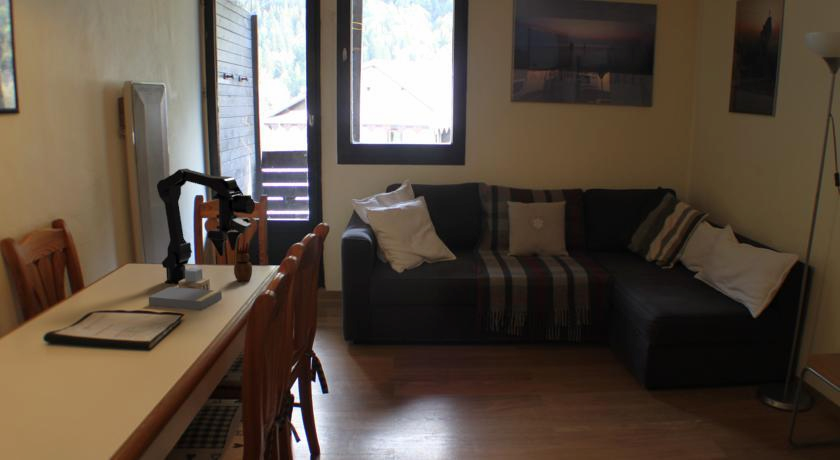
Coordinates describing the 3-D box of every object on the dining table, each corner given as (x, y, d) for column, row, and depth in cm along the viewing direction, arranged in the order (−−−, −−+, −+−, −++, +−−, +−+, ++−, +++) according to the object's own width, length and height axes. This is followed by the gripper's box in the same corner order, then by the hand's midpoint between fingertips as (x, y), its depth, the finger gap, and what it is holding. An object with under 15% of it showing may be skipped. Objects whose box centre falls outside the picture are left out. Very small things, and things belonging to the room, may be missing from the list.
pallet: (179, 291, 249) (178, 281, 249) (187, 287, 255) (187, 277, 254) (201, 293, 248) (200, 283, 247) (209, 289, 253) (209, 279, 252)
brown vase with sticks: (254, 279, 268) (253, 241, 265) (249, 282, 262) (248, 244, 259) (237, 278, 268) (236, 241, 266) (232, 282, 263) (230, 244, 260)
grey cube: (185, 281, 249) (184, 270, 248) (191, 278, 253) (191, 267, 252) (196, 282, 248) (195, 271, 247) (202, 279, 252) (202, 268, 251)
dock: (149, 305, 233) (148, 296, 232) (170, 294, 245) (170, 286, 245) (202, 310, 228) (201, 300, 228) (221, 299, 241) (221, 290, 240)
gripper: (235, 217, 239) (236, 260, 242) (258, 209, 257) (258, 249, 260) (206, 215, 241) (207, 258, 244) (230, 207, 259) (231, 247, 262)
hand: (227, 253), depth 253 cm, fingers open, 9 cm apart
